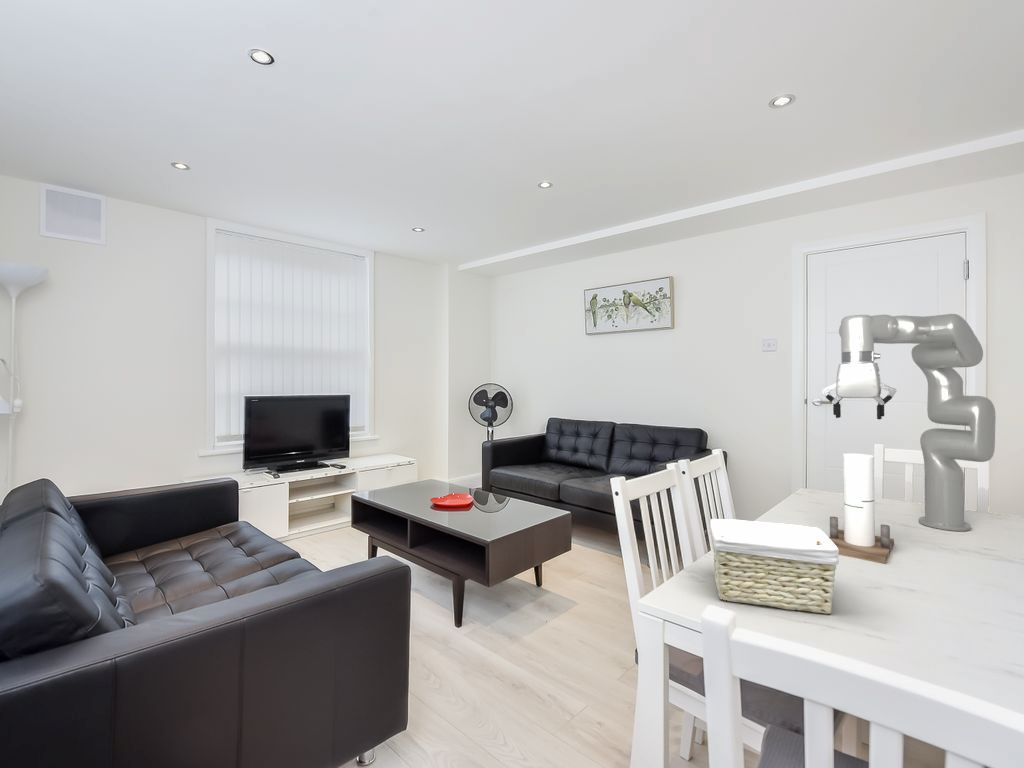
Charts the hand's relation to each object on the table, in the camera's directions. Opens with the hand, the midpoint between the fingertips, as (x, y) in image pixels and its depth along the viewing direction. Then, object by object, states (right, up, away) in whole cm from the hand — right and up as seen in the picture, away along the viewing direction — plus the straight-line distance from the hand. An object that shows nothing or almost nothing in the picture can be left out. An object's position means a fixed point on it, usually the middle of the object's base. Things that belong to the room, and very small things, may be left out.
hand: (858, 418), depth 136 cm
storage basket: (-41, -38, -29) cm, 63 cm away
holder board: (0, -37, 0) cm, 37 cm away
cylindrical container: (0, -36, 0) cm, 36 cm away
